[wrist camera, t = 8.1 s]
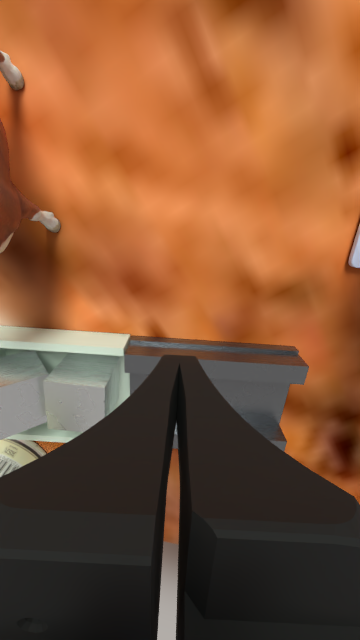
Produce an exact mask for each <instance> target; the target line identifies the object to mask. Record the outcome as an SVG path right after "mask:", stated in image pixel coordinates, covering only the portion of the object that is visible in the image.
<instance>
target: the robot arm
mask: <svg viewBox="0 0 360 640" xmlns="http://www.w3.org/2000/svg"><path fill="white" fill-rule="evenodd" d="M348 263H349V265H350V266H351V267H355V268H360V224H359V227H358V231H357V234H356V237H355V240H354V244H353V247H352V250H351V253H350V257H349V261H348ZM176 421H177V438H178V455H179V472H180V514H179V552H178V553H179V554H178V590H177V623H176V640H360V505H359V503H358V502H357V500H356V499H355V497H354V496H352V495H350V494H349V493H347V492H346V491H344V490H342V489H341V488H339V487H337V486H336V485H334V484H332V483H331V482H329V481H328V480H326V479H324V478H323V477H321V476H319V475H318V474H316V473H314V472H313V471H311V470H310V469H308V468H307V467H305V466H304V465H302V464H301V463H299V462H298V461H296V460H295V459H293V458H292V457H291V456H289V455H288V454H286V453H285V452H283V451H282V450H281V449H279V448H278V447H277V446H275V445H274V444H273V443H271V442H270V441H269V440H268V439H266V438H265V437H264V436H263V435H262V434H260V433H259V432H258V431H257V430H256V429H254V428H253V427H252V426H251V425H250V424H249V423H248V422H246V421H245V420H244V419H243V418H242V417H241V416H240V415H239V414H238V413H237V412H236V411H235V410H234V409H233V408H232V407H231V405H230V404H229V403H228V402H227V401H226V400H225V398H224V397H223V396H222V395H221V394H220V392H219V391H218V390H217V389H216V387H215V386H214V384H213V383H212V382H211V380H210V379H209V377H208V376H207V374H206V373H205V371H204V370H203V368H202V366H201V364H200V363H199V361H198V359H197V358H196V356H186V355H166V354H164V355H163V356H162V357H161V359H160V360H159V362H158V364H157V365H156V366H155V368H154V369H153V370H152V372H151V373H150V374H149V375H148V377H147V378H146V379H145V380H144V381H143V382H142V384H141V385H140V386H139V387H138V388H137V389H136V390H135V391H134V392H133V393H132V394H131V395H130V396H129V397H128V398H127V399H126V400H125V401H124V402H123V403H122V404H120V405H119V406H118V407H117V408H116V409H115V410H113V411H112V412H111V413H110V414H108V415H107V416H106V417H104V418H103V419H102V420H100V421H99V422H98V423H96V424H95V425H93V426H92V427H91V428H89V429H88V430H86V431H85V432H83V433H82V434H80V435H78V436H77V437H75V438H74V439H72V440H70V441H69V442H67V443H65V444H64V445H62V446H60V447H58V448H57V449H55V450H53V451H51V452H49V453H48V454H46V455H44V456H42V457H40V458H38V459H36V460H34V461H32V462H30V463H28V464H26V465H24V466H22V467H20V468H18V469H16V470H14V471H12V472H10V473H8V474H6V475H4V476H2V477H0V640H157V631H158V614H159V600H160V584H161V567H162V553H163V538H164V522H165V507H166V492H167V482H168V474H169V468H170V461H171V454H172V448H173V441H174V434H175V427H176Z"/></svg>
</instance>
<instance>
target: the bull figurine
mask: <svg viewBox="0 0 360 640" xmlns="http://www.w3.org/2000/svg"><path fill="white" fill-rule="evenodd" d="M0 71H1V72H2V74H3V76H4V78H5V79H6V81H7V82H8V83H9V85H10V87H11V88H12V89H14V90H18V89H22V88H23V85H24V80H23V76H22V74H21V72H20V71H19V69H18V68H17V67H15V66H14V65H13V64H12V63H11V61H10V57H9V56H8V54H6V53H4V52H2V51H0ZM24 218H28V219H29V220H31V221H40V222H41V223H42V224H44V225H45V227H46V228H47V229H48V230H49V231H51V232H58V231H59V230H60V227H61V225H60V222H59V220H58V219H56V218H55V217H54V214H53V213H52V212H47V211H41V210H40V208H39V207H38V206H36V205H35V204H33V203H32V202H30V201H29V200H28V199H27V198H26V197H25V196H24V195H23V194H22V193H21V192H20V191H18V189H17V188H16V187H15V185H14V184H13V183H12V181H11V179H10V173H9V149H8V143H7V138H6V133H5V130H4V127H3V124H2V122H1V120H0V253H2V252H3V251H4V250H5V248H6V247H7V246H8V244H9V242H10V240H11V238H12V236H13V233H14V231H16V230H17V229H18V227H19V225H20V221H21V219H24Z"/></svg>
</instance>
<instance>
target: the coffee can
mask: <svg viewBox="0 0 360 640" xmlns="http://www.w3.org/2000/svg"><path fill="white" fill-rule="evenodd" d="M44 455H46V452H45V451H44V450H43V449H42V448H41V447H40V446H39V445H38V444H37V443H35V442H34V441H32V440H16V439H2V440H0V477H2V476H4V475H6V474H8V473H10V472H12V471H14V470H16V469H18V468H20V467H22V466H24V465H26V464H28V463H30V462H32V461H34V460H36V459H38V458H40V457H42V456H44Z"/></svg>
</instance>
